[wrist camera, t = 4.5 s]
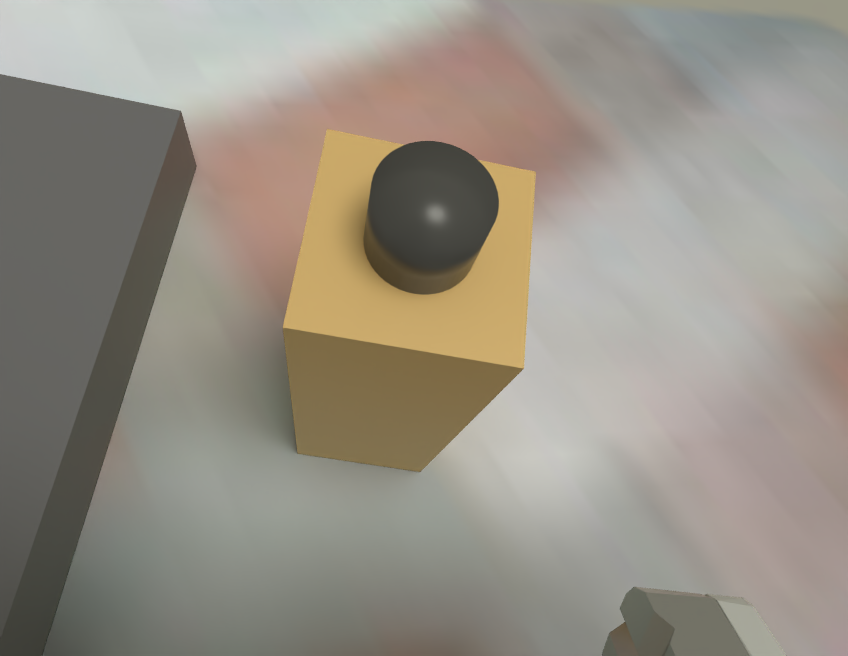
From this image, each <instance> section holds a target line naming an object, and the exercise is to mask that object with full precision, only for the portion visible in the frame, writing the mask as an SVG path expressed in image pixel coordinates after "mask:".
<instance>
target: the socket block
mask: <svg viewBox="0 0 848 656" xmlns="http://www.w3.org/2000/svg"><path fill="white" fill-rule="evenodd" d="M195 169H196V163H195V159H194V156H193V152H192V149H191V145H190V141H189V138H188V134H187V131H186V127H185V124H184V120H183V117H182V113H181V111H178V110H174V109H169V108H164V107H159V106H154V105H149V104H144V103H139V102H134V101H129V100H124V99H119V98H115V97H110V96H105V95H100V94H95V93H90V92H85V91H80V90H75V89H70V88H65V87H60V86H55V85H51V84H46V83H41V82H36V81H31V80H26V79H21V78H16V77H11V76H6V75H1V74H0V656H42V653H43V650H44V647H45V644H46V641H47V637H48V634H49V631H50V628H51V625H52V622H53V618H54V615H55V612H56V609H57V606H58V603H59V599H60V596H61V593H62V590H63V587H64V584H65V581H66V577H67V574H68V571H69V568H70V565H71V562H72V558H73V555H74V552H75V549H76V546H77V543H78V539H79V536H80V533H81V530H82V527H83V524H84V520H85V517H86V514H87V511H88V508H89V505H90V501H91V498H92V495H93V492H94V489H95V486H96V482H97V479H98V476H99V473H100V470H101V467H102V463H103V460H104V457H105V454H106V451H107V448H108V444H109V441H110V438H111V435H112V432H113V429H114V425H115V422H116V419H117V416H118V413H119V410H120V406H121V403H122V400H123V397H124V394H125V391H126V388H127V384H128V381H129V378H130V375H131V372H132V369H133V365H134V362H135V359H136V356H137V353H138V350H139V346H140V343H141V340H142V337H143V334H144V331H145V327H146V324H147V321H148V318H149V315H150V312H151V308H152V305H153V302H154V299H155V296H156V293H157V289H158V286H159V283H160V280H161V277H162V274H163V270H164V267H165V264H166V261H167V258H168V255H169V251H170V248H171V245H172V242H173V239H174V236H175V232H176V229H177V226H178V223H179V220H180V217H181V213H182V210H183V207H184V204H185V201H186V198H187V195H188V191H189V188H190V185H191V182H192V179H193V176H194V172H195Z"/></svg>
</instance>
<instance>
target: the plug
mask: <svg viewBox="0 0 848 656" xmlns="http://www.w3.org/2000/svg"><path fill="white" fill-rule="evenodd" d="M535 175H536V172H534V171H529V170H524V169H519V168H515V167H510V166H505V165H500V164H495V163H490V162H485V161H480V160H477V159H476V158H475V157H474V156H472V155H471V154H469V153H468V152H466V151H464V150H462V149H460V148H458V147H456V146H453V145H450V144H446V143H442V142H435V141H420V142H414V143H409V144H406V145H402V144H398V143H393V142H388V141H383V140H378V139H373V138H368V137H364V136H359V135H354V134H349V133H344V132H339V131H334V130H329V129H327V132H326V137H325V141H324V146H323V150H322V155H321V159H320V163H319V168H318V172H317V177H316V181H315V186H314V190H313V195H312V199H311V204H310V208H309V213H308V217H307V221H306V226H305V230H304V235H303V239H302V244H301V248H300V253H299V257H298V262H297V266H296V271H295V275H294V279H293V284H292V288H291V293H290V297H289V302H288V306H287V311H286V315H285V320H284V324H283V334H284V342H285V351H286V359H287V368H288V376H289V385H290V393H291V402H292V410H293V419H294V427H295V436H296V445H297V453H298V454H303V455H310V456H317V457H323V458H330V459H337V460H343V461H350V462H357V463H363V464H370V465H377V466H383V467H390V468H397V469H403V470H410V471H417V472H421V471H422V470H423V469H424V468H425V467H426V466H427V465H428V464H429V463H430V462H431V461H432V460H433V459H434V458H435V457H436V456H437V455H438V454H439V453H440V452H441V451H442V450H443V449H444V448H445V447H446V446H447V445H448V444H449V443H450V442H451V441H452V440H453V439H454V438H455V437H456V436H457V435H458V434H459V433H460V432H461V431H462V430H463V429H464V428H465V427H466V426H467V425H468V424H469V423H470V422H471V421H472V420H473V419H474V418H475V417H476V416H477V415H478V414H479V413H480V412H481V411H482V410H483V409H484V408H485V407H486V406H487V405H488V404H489V403H490V402H491V401H492V400H493V399H494V398H495V397H496V396H497V395H498V394H499V393H500V392H501V391H502V390H503V389H504V388H505V387H506V386H507V385H508V384H509V383H510V382H511V381H512V380H513V379H514V378H515V377H516V376H517V375H518V374H519V373H520V372H521V371H522V370H523V369H524V357H525V341H526V324H527V307H528V291H529V274H530V258H531V241H532V225H533V208H534V191H535Z"/></svg>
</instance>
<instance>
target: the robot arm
mask: <svg viewBox="0 0 848 656" xmlns="http://www.w3.org/2000/svg"><path fill="white" fill-rule="evenodd" d="M620 610H621V613H622V615H623V618H624V620H625V622H624V623H623V624H621V625H620V626H619V627H617V628H616V629H614V630H613V631H611V632H610V633H609V635H608V638H607V641H606V643H605V646H604V649H603V652H602V656H786V654H785V653H784V651H783V650H782V648H781V647H780V645H779V644H778V642H777V641H776V639H775V638H774V636H773V635H772V633H771V632H770V630H769V629H768V627H767V626H766V624H765V623H764V621H763V620H762V618H761V617H760V615H759V614H758V612H757V611H756V609H755V608H754V606H753V605H752V604H750V603H749V602H748V601H746V600H745V599H744V598H740V597H730V596H720V595H710V594H706V595H702V594H697V593H688V592H679V591H669V590H660V589H651V588H642V587H633V588H632V589H631V590H630V591H629V592H627V593H626V595H625V597H624V599H623V602H622V604H621V606H620Z"/></svg>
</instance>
